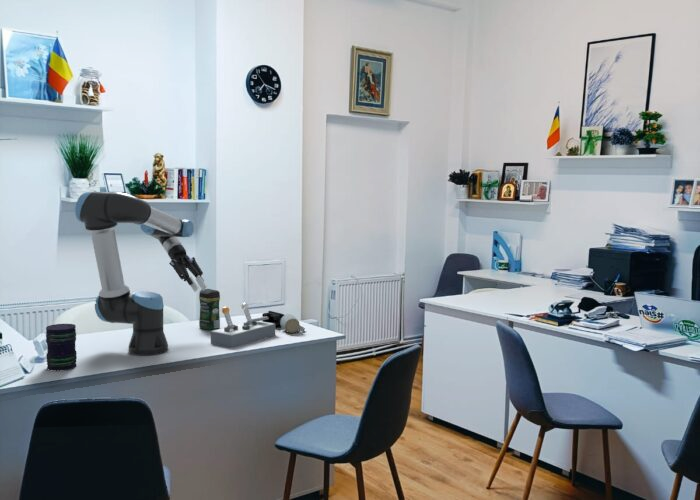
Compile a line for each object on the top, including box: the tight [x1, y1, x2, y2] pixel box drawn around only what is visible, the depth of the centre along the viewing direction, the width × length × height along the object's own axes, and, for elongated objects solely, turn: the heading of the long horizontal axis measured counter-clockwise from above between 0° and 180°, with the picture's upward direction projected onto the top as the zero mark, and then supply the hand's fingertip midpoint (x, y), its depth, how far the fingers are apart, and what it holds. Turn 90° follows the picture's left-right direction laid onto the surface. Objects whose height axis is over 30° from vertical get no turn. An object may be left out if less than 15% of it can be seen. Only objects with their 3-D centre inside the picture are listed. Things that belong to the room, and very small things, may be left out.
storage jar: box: [45, 323, 78, 372], centre depth 223 cm, size 10×10×15 cm
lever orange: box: [221, 306, 236, 330], centre depth 264 cm, size 3×4×10 cm
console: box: [210, 321, 276, 348], centre depth 271 cm, size 12×28×7 cm, turn 147°
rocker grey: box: [251, 316, 269, 321], centre depth 279 cm, size 6×4×1 cm
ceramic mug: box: [280, 313, 306, 334], centre depth 287 cm, size 11×8×8 cm
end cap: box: [261, 310, 285, 329], centre depth 298 cm, size 10×7×7 cm
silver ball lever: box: [240, 302, 255, 325], centre depth 274 cm, size 3×4×10 cm
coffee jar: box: [198, 288, 221, 331], centre depth 290 cm, size 10×8×19 cm
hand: (200, 289), depth 272 cm, fingers open, 4 cm apart
